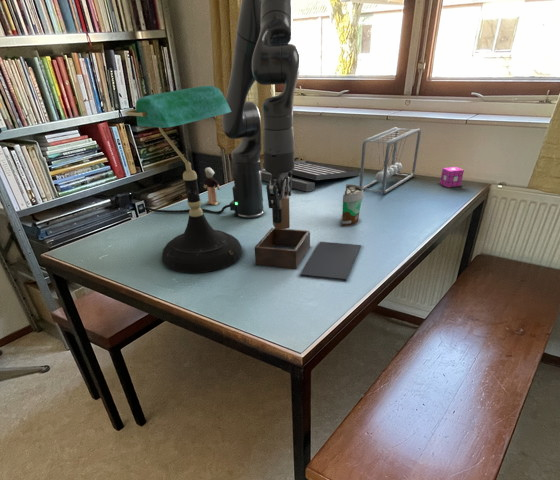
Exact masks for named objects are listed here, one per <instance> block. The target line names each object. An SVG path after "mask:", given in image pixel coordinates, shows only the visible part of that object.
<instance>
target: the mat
mask: <svg viewBox="0 0 560 480" xmlns="http://www.w3.org/2000/svg"><path fill="white" fill-rule="evenodd" d="M361 247H362V245H361V244H353V243H339V242H330V241H320V242H319V243H318V244H317V246H316V248H315V250H314V251H313V253H312V255H311V257H310V258H309V260H308V261H307V263H306V264H305V266H304V268H303V269H302V271H301V272H300V275H299V276H300V277H308V278H315V279H316V278H317V279H325V280H326V279H327V280H335V281H344V282H347V280H348V277H349V275H350V273H351V270H352V268H353V265H354V263H355V261H356V258H357V256H358V254H359V251H360V249H361Z"/></svg>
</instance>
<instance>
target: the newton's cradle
mask: <svg viewBox="0 0 560 480" xmlns="http://www.w3.org/2000/svg"><path fill="white" fill-rule="evenodd" d="M400 130H402V131H406V132H403V133H401V134H399V133H400ZM421 133H422V131H421V129H420V128H416V129H414V128H413V129H412V128H402V127H401V128H399V127H398V126H395V127H394V126H393V127H392V128H390V129H387V130H385V131H383V132H380V133H378V134H375V135H373V136H370V137H367V138H365V139H364V141H363V143H362V147H361V160H360V172H359V185H358V186H360V187H362V189H363V191H364V190H365V191H371V192H378V193H382V194H383V195H386V194H388V193H389V192H390V191H392V190H394V189H396V188H398V187H399V186H400V185H402V184H403V183H405V182H407V181H408V180H410V179H411V178H413V177H414V175H415V173H416V167H417V159H418V154H419V147H420V141H421ZM394 134H395V135H394ZM415 134H417V136H416V143H415V150H414V155H413V162H412V170H411V173H410V174H406V173H405V174H404V173H400V172H401V171H402V170H403V165H402V163H401V162H400V160H401V157H402V154H403V151H404V146H405V144H406V141H407V138H408V137H410V136H413V135H415ZM389 135H390V136H389ZM393 136H394V137H393ZM385 137H386V138H385ZM382 138H384V140H385V141H383V140H380V139H382ZM390 138H391V139H390ZM403 140H404V143H403V147H402V149H401V145H402V142H403ZM399 142H400V143H399ZM368 143H378V147H380V143H381V144H386V149H385V150H384V147H385V146H384V145H382V152H383V155H384V161H383V166H382V168H381V170H379V171H378V172H377V173H376V174H375V179H374V180H372V181H371V182H369V183H367V184H365V185H364V186H363V184H364V183H363V182H364V171H365V158H366V146H367V144H368ZM398 144H399V148H398V149H397V147H398ZM390 148H391V150H390ZM400 149H401V153H400V156H399V161H397V160H398V154H399V151H400ZM380 158H381V157H380V155H378V160H379V161H378V162H379V164H381V159H380ZM391 158H392V159H391ZM390 159H391V162H390ZM390 163H391V164H390ZM395 175H396V176H397V175H399V176H404V178H403V179H401V180H399V181H398V182H396V183H395V184H393V185H391V186H390V187H388V188H386V182H387V180H388V179H389V178H392V177H393V176H395ZM405 176H406V177H405ZM378 183H382V185H381V190H378V189H377V190H376V189H372V188H371V189H370V188H369V187H372V186H373V185H376V184H378Z"/></svg>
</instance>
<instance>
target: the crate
mask: <svg viewBox="0 0 560 480" xmlns="http://www.w3.org/2000/svg"><path fill="white" fill-rule="evenodd" d="M275 246H276V247H275ZM279 247H287V248H279ZM291 248H293V249H291ZM310 248H311V230H306V229H305V230H304V229H294V228H293V229H292V228H287V229H278V230H276V229H275V227H271V228H270V229H269V230H268V231H267V232H266V234H265V235H264V236H263V237H262V239H260V240H259V242H257V244H256V245H255V246H254V258H255V259H254V260H255V265H256V266H265V267H274V268H282V269H294V270H296V269H298V267H299V266H300V264H301V262H303V260H304V258H305V256H306V254H307V253H308V251H309V250H310Z"/></svg>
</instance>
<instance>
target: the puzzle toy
mask: <svg viewBox="0 0 560 480" xmlns="http://www.w3.org/2000/svg"><path fill="white" fill-rule="evenodd" d="M464 171H465V170H464V169H462V168H460V167H457V166H450V167H449V166H448V167H443V168H442V170H441V175H440V180H439V184H440V185H442V186H444V187H445V188H454V187H461V185H462V180H463V177H464V173H465V172H464Z"/></svg>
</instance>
